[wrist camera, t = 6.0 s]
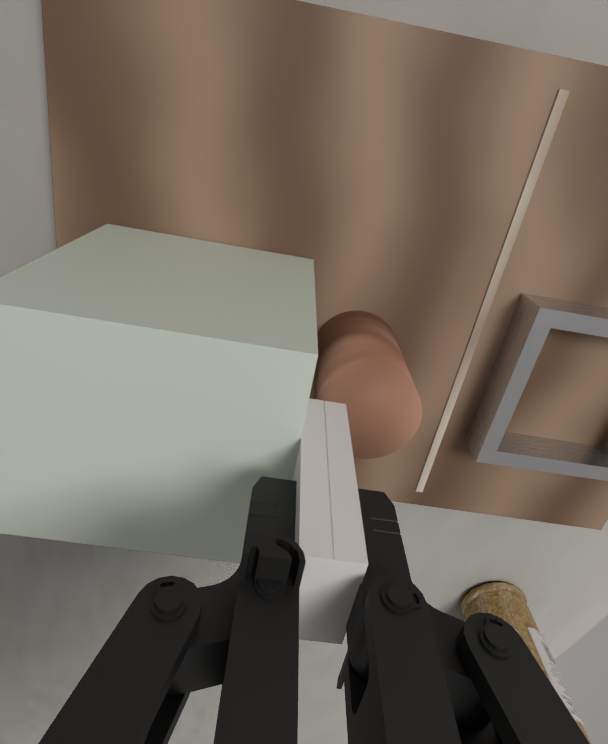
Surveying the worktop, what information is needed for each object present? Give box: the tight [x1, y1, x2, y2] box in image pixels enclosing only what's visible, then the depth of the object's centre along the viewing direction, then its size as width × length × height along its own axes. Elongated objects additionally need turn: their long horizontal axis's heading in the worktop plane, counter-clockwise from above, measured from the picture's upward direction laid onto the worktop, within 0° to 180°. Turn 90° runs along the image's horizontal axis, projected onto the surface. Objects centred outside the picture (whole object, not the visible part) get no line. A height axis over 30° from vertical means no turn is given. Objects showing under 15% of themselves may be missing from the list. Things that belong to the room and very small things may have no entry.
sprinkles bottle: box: [461, 582, 591, 744], centre depth 28 cm, size 5×5×13 cm
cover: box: [0, 224, 318, 563], centre depth 18 cm, size 9×8×10 cm
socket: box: [464, 293, 608, 481], centre depth 23 cm, size 8×8×2 cm
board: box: [41, 0, 608, 530], centre depth 21 cm, size 31×22×8 cm
